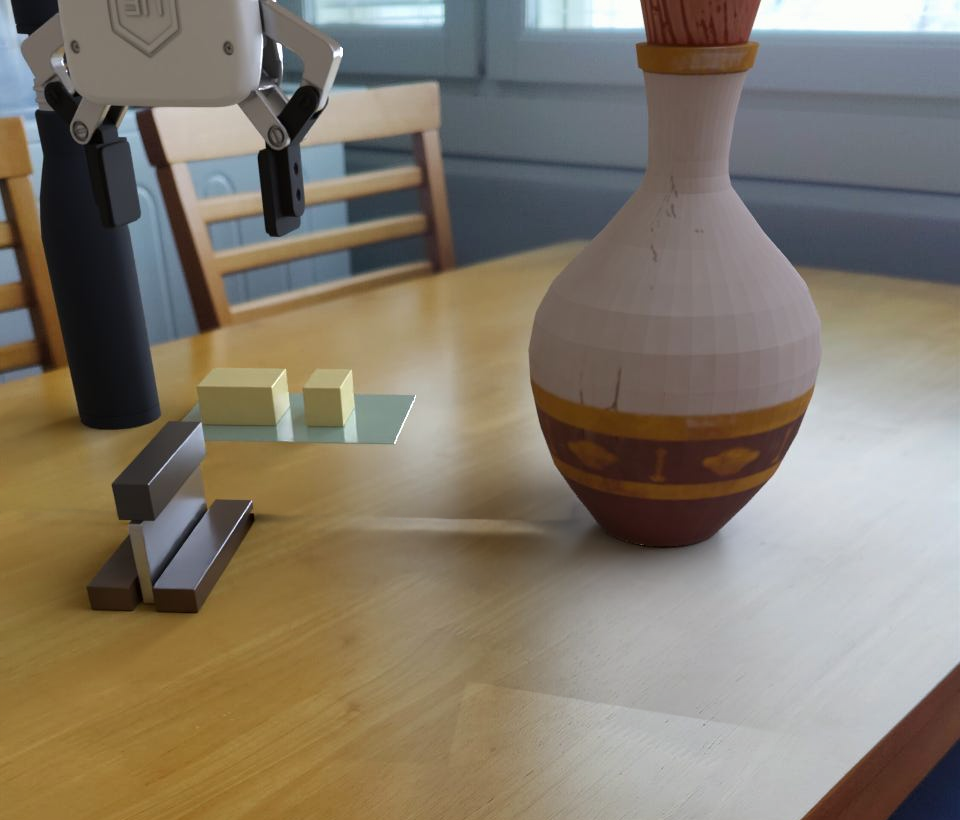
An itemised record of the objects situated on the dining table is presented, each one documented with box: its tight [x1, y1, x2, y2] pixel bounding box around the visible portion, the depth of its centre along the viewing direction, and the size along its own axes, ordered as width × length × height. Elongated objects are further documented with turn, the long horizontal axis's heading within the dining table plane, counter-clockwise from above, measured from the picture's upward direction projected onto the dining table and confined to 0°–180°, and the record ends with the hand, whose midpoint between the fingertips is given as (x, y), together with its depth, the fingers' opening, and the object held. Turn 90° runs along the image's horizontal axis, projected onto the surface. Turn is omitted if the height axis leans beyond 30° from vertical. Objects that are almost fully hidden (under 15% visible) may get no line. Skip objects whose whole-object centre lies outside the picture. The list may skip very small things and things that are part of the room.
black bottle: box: [10, 0, 162, 431], centre depth 89 cm, size 6×6×30 cm
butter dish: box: [181, 392, 417, 445], centre depth 98 cm, size 18×12×1 cm, turn 84°
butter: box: [196, 367, 290, 426], centre depth 97 cm, size 6×5×3 cm
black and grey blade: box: [111, 420, 208, 605], centre depth 75 cm, size 12×2×7 cm, turn 174°
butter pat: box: [302, 368, 355, 427], centre depth 96 cm, size 3×5×3 cm, turn 174°
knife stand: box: [86, 498, 256, 613], centre depth 77 cm, size 7×14×2 cm, turn 174°
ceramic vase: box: [527, 0, 822, 547], centre depth 73 cm, size 20×18×30 cm
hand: (202, 228), depth 66 cm, fingers open, 9 cm apart
